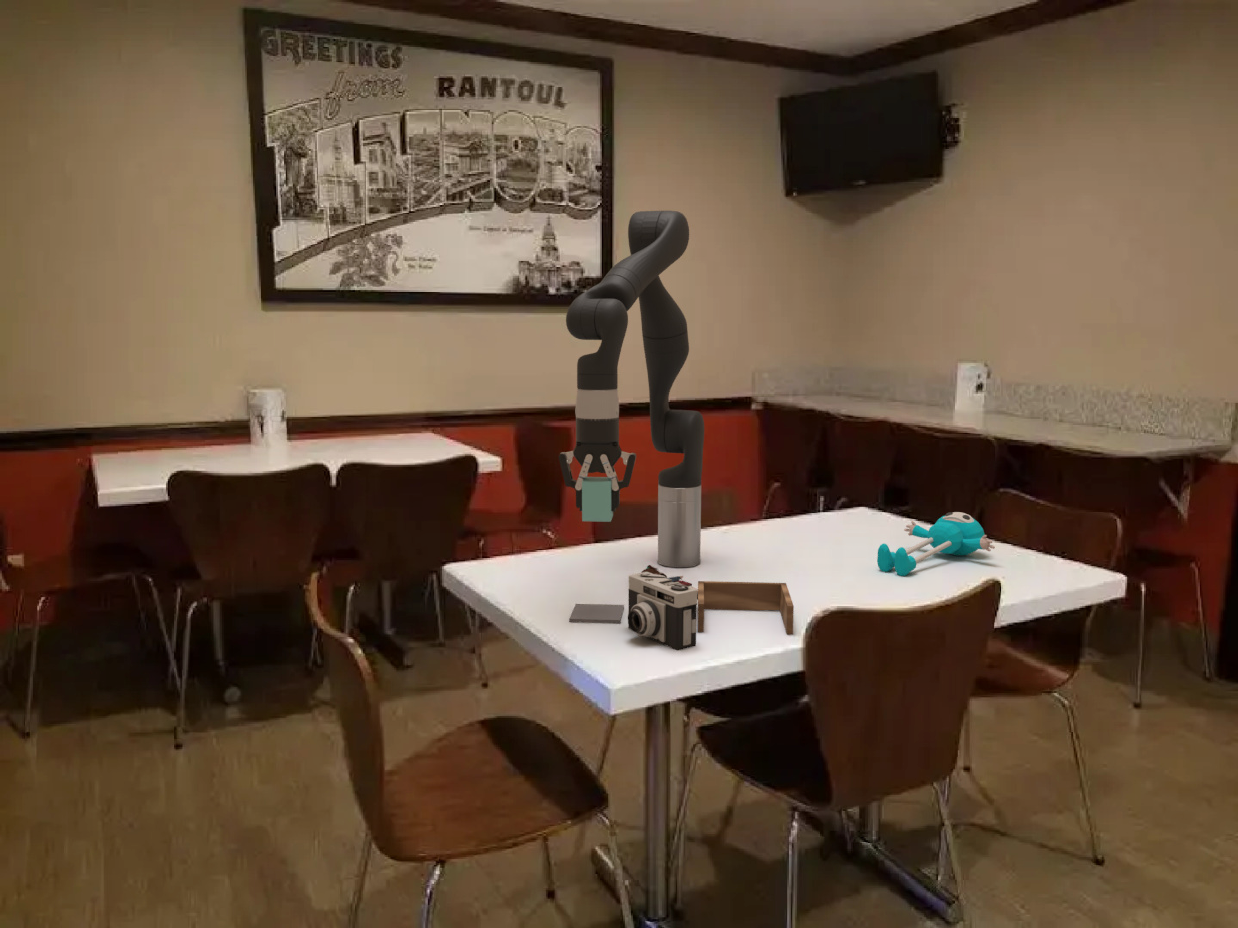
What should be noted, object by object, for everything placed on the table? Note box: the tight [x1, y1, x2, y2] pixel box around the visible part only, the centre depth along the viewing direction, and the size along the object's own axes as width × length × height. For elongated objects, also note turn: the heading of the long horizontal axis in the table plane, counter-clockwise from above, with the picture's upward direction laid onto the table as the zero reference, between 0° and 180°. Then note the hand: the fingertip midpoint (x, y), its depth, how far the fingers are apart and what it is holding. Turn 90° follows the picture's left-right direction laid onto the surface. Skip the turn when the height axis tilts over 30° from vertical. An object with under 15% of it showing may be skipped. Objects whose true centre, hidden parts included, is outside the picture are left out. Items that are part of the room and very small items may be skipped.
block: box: [581, 476, 614, 523], centre depth 171 cm, size 5×5×7 cm
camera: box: [627, 571, 698, 651], centre depth 161 cm, size 14×8×10 cm, turn 35°
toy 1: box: [640, 564, 698, 601], centre depth 189 cm, size 14×5×15 cm
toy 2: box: [876, 511, 996, 577], centre depth 211 cm, size 22×10×30 cm
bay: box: [697, 580, 795, 635], centre depth 171 cm, size 14×16×5 cm
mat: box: [568, 603, 625, 624], centre depth 175 cm, size 9×9×1 cm
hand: (597, 510), depth 172 cm, fingers closed on block, 5 cm apart
